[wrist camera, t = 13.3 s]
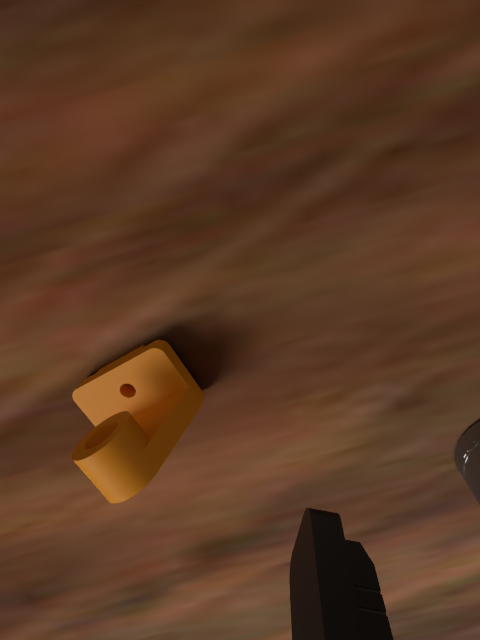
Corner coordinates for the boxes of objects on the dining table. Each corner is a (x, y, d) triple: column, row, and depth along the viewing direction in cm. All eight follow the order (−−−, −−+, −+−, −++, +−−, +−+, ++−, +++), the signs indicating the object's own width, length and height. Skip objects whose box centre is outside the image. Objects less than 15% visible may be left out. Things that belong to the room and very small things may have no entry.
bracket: (165, 332, 39) (123, 401, 28) (205, 390, 41) (182, 475, 30) (80, 379, 42) (11, 459, 31) (122, 431, 44) (71, 524, 33)
